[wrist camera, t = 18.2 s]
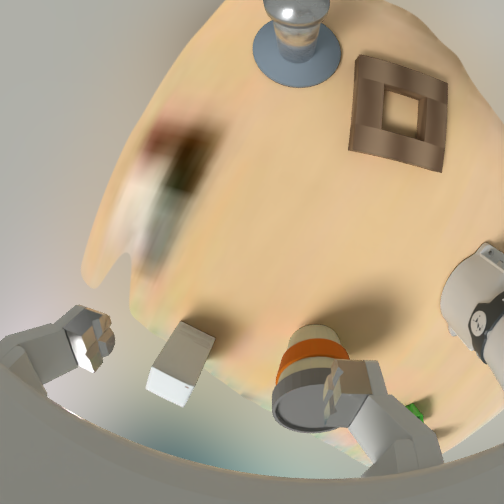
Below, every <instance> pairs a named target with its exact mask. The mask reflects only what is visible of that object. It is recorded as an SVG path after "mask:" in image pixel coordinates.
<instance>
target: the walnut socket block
mask: <svg viewBox="0 0 504 504" xmlns="http://www.w3.org/2000/svg"><path fill="white" fill-rule="evenodd" d="M384 90H387V91H391V92H394V93H398V94H401V95H404V96H407V97H411V98H414V99H417V100H419V104H418V122H417V134H416V139H414V138H410V137H407V136H403V135H400V134H396V133H393V132H389V131H385V130H381V126H382V114H383V99H384ZM447 104H448V83H445V82H443V81H441V80H438V79H436V78H433V77H431V76H428V75H426V74H423V73H420V72H418V71H415V70H412V69H409V68H406V67H403V66H400V65H397V64H394V63H390V62H387V61H384V60H380V59H376V58H372V57H369V56H364V55H359V56H358V57H357V59H356V60H355V74H354V92H353V106H352V118H351V128H350V138H349V147H348V150H350V151H355V152H360V153H364V154H369V155H374V156H378V157H382V158H387V159H391V160H395V161H399V162H403V163H406V164H410V165H414V166H417V167H421V168H424V169H428V170H431V171H435V172H440V173H442V167H443V159H444V151H445V140H446V127H447Z"/></svg>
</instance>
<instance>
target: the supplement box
mask: <svg viewBox="0 0 504 504" xmlns="http://www.w3.org/2000/svg"><path fill="white" fill-rule="evenodd" d="M214 341H215V338H214V337H212V336H210V335H208V334H206V333H204V332H202V331H200V330H198V329H196V328H194V327H192V326H190V325H188V324H186V323H184V322H182V321H180V322H179V324H178V325H177V327H176V328H175V330H174V332H173V333H172V335H171V336H170V338H169V339H168V341H167V343H166V344H165V346H164V348H163V349H162V351H161V352H160V354H159V355H158V357H157V359H156V360H155V362H154V364H153V365H152V367H151V370H150V373H149V377H148V380H147V384H146V389H147V390H149V391H151V392H152V393H154V394H157V395H158V396H160V397H162V398H164V399H166V400H168V401H171V402H173V403H175V404H177V405H179V406H181V407H184V406H185V404H186V402H187V400H188V398H189V397H190V395H191V393H192V391H193V389H194V387H195V385H196V383H197V381H198V378H199V376H200V374H201V371H202V369H203V367H204V364H205V362H206V360H207V357H208V355H209V353H210V350H211V348H212V346H213V343H214Z"/></svg>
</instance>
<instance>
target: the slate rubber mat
mask: <svg viewBox="0 0 504 504" xmlns="http://www.w3.org/2000/svg"><path fill="white" fill-rule="evenodd" d="M253 55H254V59H255V61H256V63H257V65H258V67H259V68H260V70H261V71H262V72H263V73H264V74H265V75H266V76H267V77H268V78H270V79H271V80H273V81H275V82H277V83H279V84H282V85H285V86H288V87H296V88H304V87H311V86H315V85H318V84H320V83H322V82H324V81H325V80H327V79H328V78H329V77H330V76H331V75H332V74H333V73H334V72H335V70H336V69H337V67H338V65H339V62H340V56H341V51H340V45H339V43H338V40H337V38H336V37H335V35H334V34H333V32H332V31H331V30H330V29H329V28H327V27H326V26H325V25H324V24H322V23H320V28H319V33H318V38H317V43H316V48H315V53H314V55H313V57H312V58H311V59H310V60H309V61H307V62H304V63H291V62H289V61H287V60H285V59H284V58H283V57H282V56H281V55H280V53H279V51H278V45H277V40H276V34H275V29H274V24H273V20H272V21H270V22H268V23H267V24H265V25H264V26H263V27H262V28H261V29H260V30H259V31H258V33H257V35H256V36H255V39H254V42H253Z"/></svg>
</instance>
